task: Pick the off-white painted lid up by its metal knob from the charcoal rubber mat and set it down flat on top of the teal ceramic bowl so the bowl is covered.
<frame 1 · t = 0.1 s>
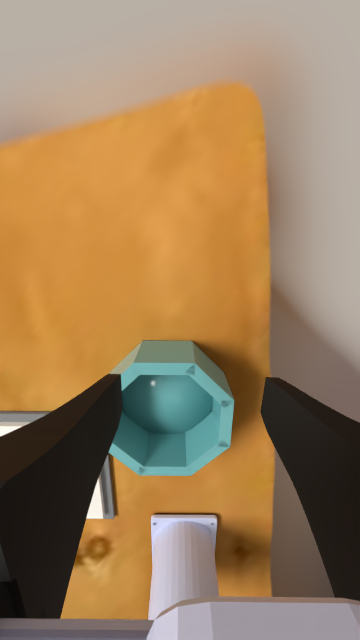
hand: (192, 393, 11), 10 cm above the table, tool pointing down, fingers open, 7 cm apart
lid: (41, 470, 25), resting on mat
mat: (43, 467, 25), on the table
bowl: (167, 391, 23), on the table
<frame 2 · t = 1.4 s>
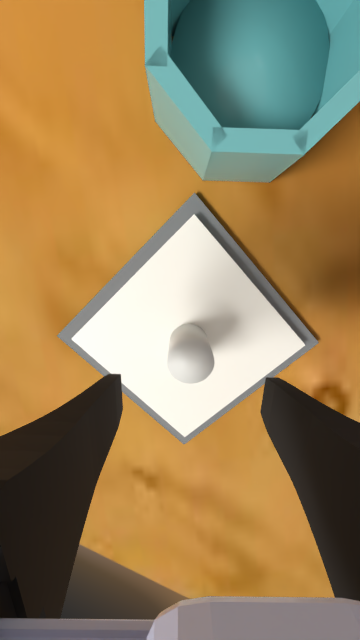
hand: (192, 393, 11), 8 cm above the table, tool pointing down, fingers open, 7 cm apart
lid: (188, 339, 18), resting on mat
mat: (188, 337, 19), on the table
bowl: (244, 80, 14), on the table
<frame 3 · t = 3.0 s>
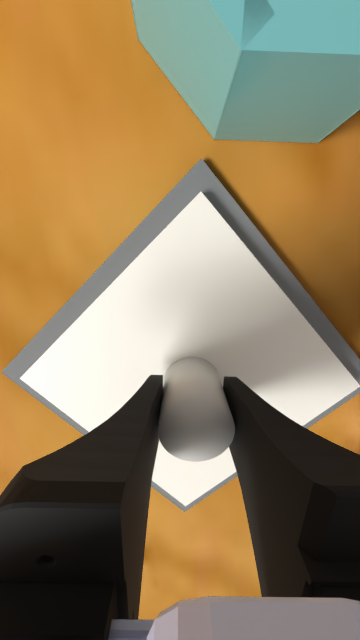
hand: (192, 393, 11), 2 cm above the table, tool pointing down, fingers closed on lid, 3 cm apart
lid: (191, 376, 13), resting on mat, touching gripper
mat: (190, 372, 13), on the table
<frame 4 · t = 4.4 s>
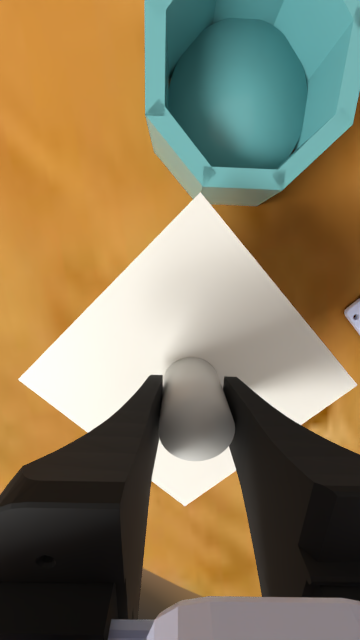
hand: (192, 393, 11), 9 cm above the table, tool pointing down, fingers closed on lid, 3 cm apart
lid: (190, 376, 13), point 8 cm above the table, touching gripper
bowl: (234, 117, 16), on the table
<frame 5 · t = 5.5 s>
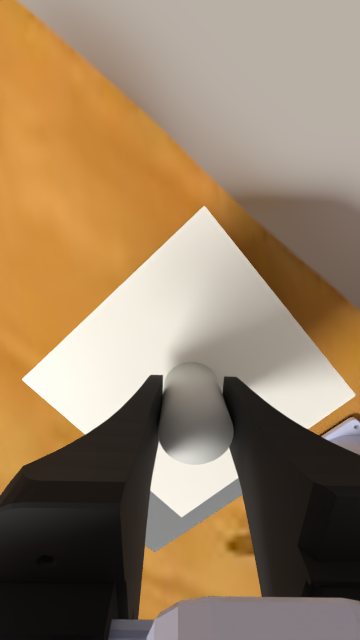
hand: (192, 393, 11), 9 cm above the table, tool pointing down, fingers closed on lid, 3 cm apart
lid: (190, 382, 13), point 7 cm above the table, touching gripper
mat: (155, 481, 24), on the table
when the fingers open (8 cm above the table, at t = 6.0 s): lid drops 1 cm, resting on bowl.
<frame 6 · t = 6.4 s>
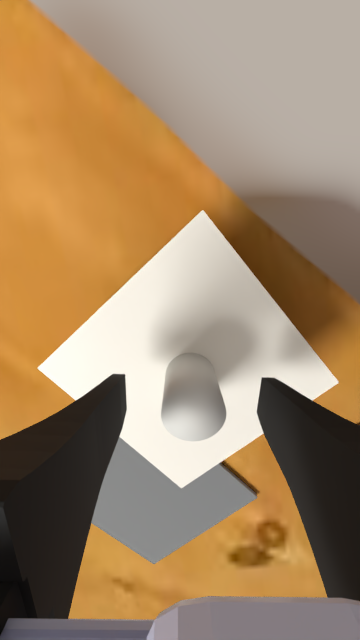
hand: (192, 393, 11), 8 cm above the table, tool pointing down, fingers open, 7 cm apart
lid: (189, 370, 14), point 4 cm above the table, touching bowl
mat: (153, 491, 23), on the table
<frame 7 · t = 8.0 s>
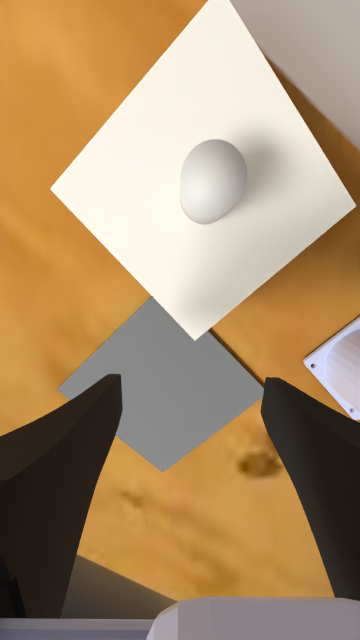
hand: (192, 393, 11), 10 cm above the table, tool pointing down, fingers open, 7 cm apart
lid: (204, 199, 14), point 4 cm above the table, touching bowl
mat: (163, 388, 23), on the table
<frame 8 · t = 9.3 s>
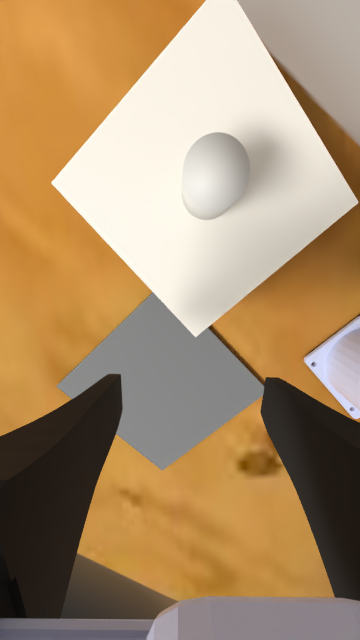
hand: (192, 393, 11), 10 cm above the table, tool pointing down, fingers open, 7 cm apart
lid: (205, 195, 14), point 4 cm above the table, touching bowl
mat: (163, 386, 23), on the table
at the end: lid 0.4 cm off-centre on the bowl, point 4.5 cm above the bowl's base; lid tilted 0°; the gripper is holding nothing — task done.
